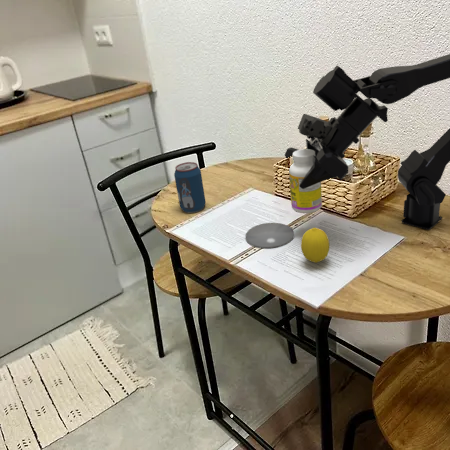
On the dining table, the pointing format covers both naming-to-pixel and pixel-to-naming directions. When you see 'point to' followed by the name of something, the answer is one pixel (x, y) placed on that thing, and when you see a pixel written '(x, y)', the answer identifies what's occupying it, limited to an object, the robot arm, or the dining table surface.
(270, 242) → the coaster
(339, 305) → the dining table surface
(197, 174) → the soda can
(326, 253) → the lemon
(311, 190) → the supplement bottle
